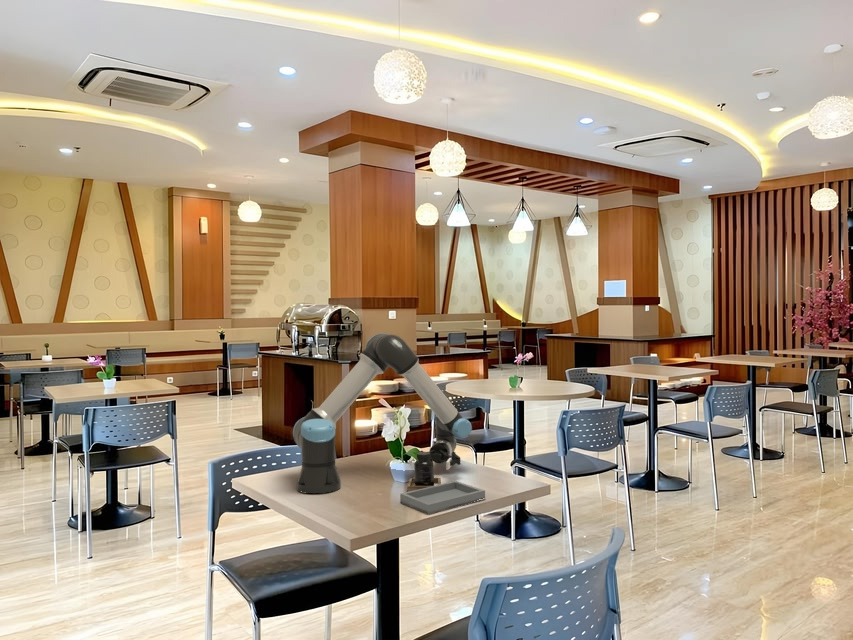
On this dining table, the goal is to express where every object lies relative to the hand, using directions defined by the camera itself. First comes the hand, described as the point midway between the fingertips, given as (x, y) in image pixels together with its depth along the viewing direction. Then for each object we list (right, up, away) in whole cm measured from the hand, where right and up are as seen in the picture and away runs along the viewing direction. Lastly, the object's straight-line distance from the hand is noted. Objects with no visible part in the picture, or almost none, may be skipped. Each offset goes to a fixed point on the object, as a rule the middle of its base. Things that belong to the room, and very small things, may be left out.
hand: (428, 465), depth 220 cm
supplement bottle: (-1, -7, -3) cm, 8 cm away
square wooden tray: (-1, -7, -3) cm, 8 cm away
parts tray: (+5, -7, -20) cm, 21 cm away
